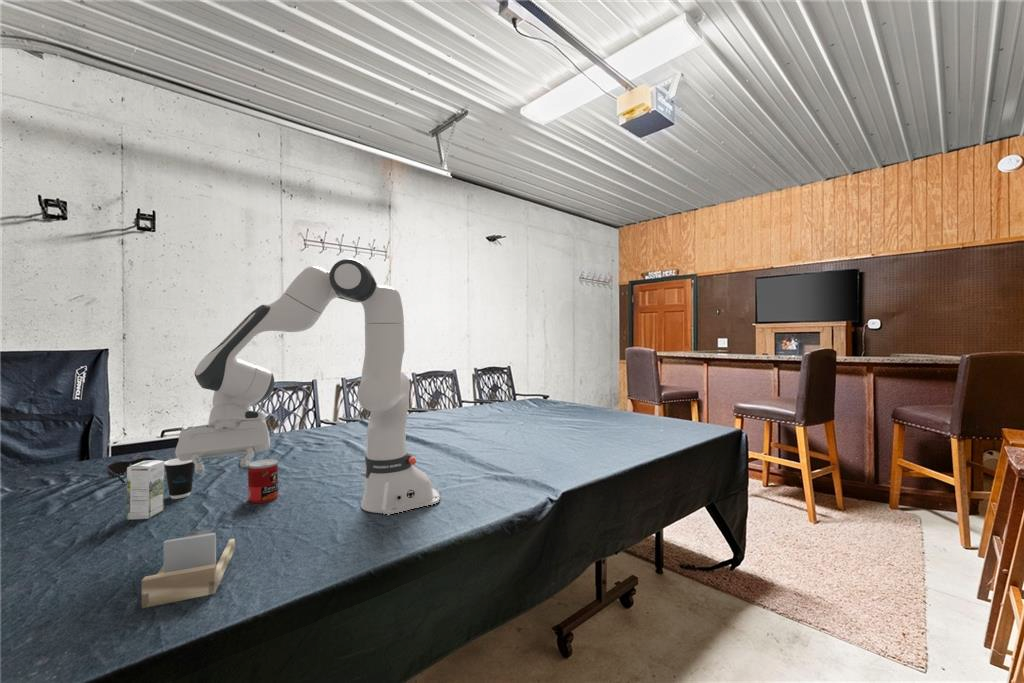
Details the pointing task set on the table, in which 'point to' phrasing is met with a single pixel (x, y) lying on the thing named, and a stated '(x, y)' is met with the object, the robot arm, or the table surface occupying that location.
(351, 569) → the table surface
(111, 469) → the sunglasses
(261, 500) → the canned food
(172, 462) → the dixie cup
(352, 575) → the table surface
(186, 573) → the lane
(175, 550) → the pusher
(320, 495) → the table surface
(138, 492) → the syrup box
